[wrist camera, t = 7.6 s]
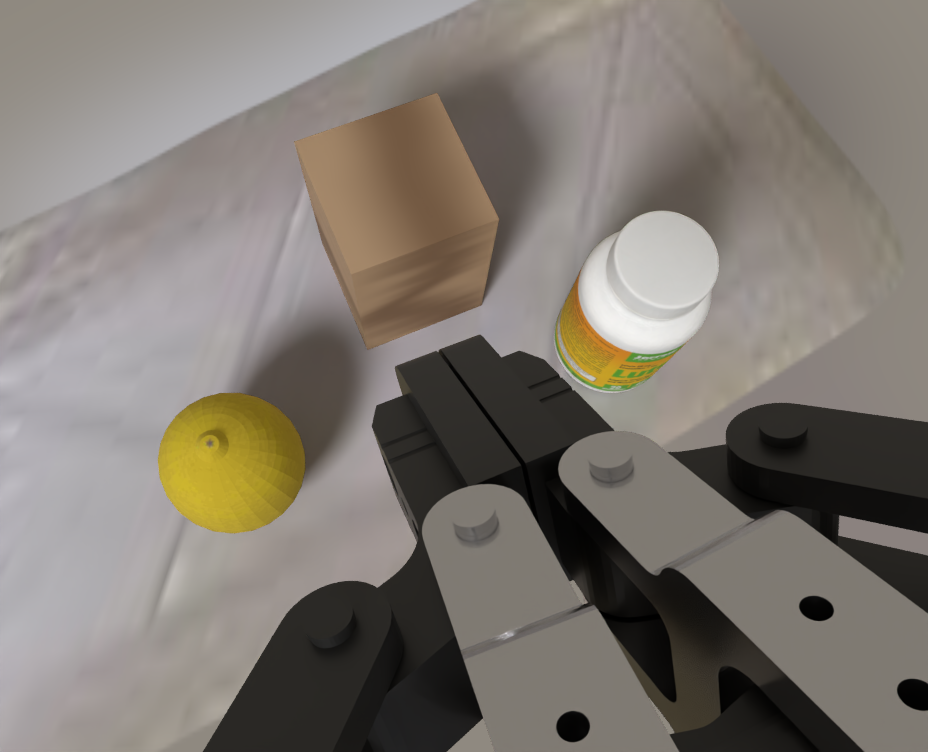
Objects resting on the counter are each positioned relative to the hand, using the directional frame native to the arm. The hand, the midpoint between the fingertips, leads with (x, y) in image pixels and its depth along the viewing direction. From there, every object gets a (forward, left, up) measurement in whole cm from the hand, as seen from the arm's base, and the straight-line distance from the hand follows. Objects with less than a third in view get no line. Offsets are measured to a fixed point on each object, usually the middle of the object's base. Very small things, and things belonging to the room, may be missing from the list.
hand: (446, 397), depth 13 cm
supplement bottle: (+11, +5, -23) cm, 26 cm away
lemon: (-7, +5, -23) cm, 25 cm away
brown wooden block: (+3, +12, -23) cm, 26 cm away
